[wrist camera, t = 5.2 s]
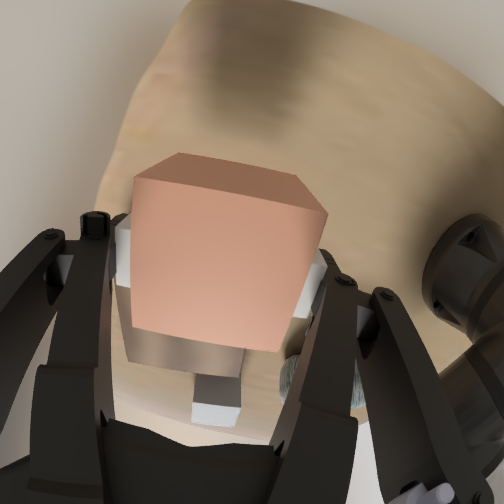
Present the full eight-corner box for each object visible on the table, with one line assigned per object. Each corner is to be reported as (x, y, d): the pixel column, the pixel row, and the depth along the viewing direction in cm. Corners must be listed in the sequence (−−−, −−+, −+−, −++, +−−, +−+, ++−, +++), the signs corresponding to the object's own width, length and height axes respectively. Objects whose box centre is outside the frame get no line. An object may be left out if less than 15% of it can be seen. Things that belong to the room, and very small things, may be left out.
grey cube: (240, 372, 36) (241, 407, 31) (233, 394, 39) (233, 427, 34) (197, 366, 36) (192, 402, 30) (194, 389, 38) (190, 422, 33)
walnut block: (255, 257, 28) (258, 285, 24) (238, 347, 34) (238, 377, 30) (130, 241, 27) (112, 266, 23) (138, 333, 33) (128, 361, 28)
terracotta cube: (296, 175, 16) (328, 214, 10) (268, 276, 19) (277, 352, 13) (178, 152, 15) (133, 176, 9) (166, 257, 18) (132, 326, 12)
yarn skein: (397, 345, 31) (388, 421, 25) (366, 364, 39) (355, 425, 33) (298, 321, 32) (277, 403, 26) (283, 345, 40) (265, 408, 34)
